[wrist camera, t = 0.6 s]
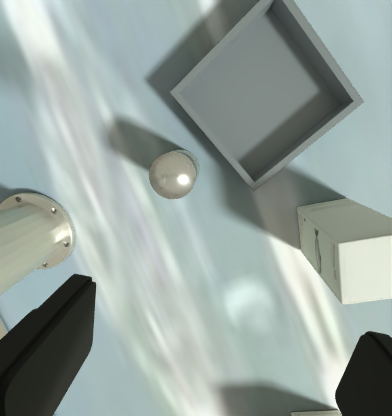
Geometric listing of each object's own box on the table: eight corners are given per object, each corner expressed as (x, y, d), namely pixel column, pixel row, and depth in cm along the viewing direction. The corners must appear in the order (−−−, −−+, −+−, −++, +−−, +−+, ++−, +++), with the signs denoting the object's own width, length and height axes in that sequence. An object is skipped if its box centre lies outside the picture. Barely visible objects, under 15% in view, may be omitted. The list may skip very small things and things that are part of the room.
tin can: (179, 193, 36) (171, 208, 28) (155, 166, 35) (139, 174, 28) (206, 169, 35) (204, 178, 27) (181, 141, 34) (172, 142, 26)
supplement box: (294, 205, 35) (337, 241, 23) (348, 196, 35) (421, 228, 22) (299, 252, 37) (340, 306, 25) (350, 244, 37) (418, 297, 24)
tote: (249, 185, 35) (253, 191, 31) (174, 98, 33) (169, 92, 29) (345, 106, 31) (364, 101, 28) (270, 1, 29) (279, -20, 25)
